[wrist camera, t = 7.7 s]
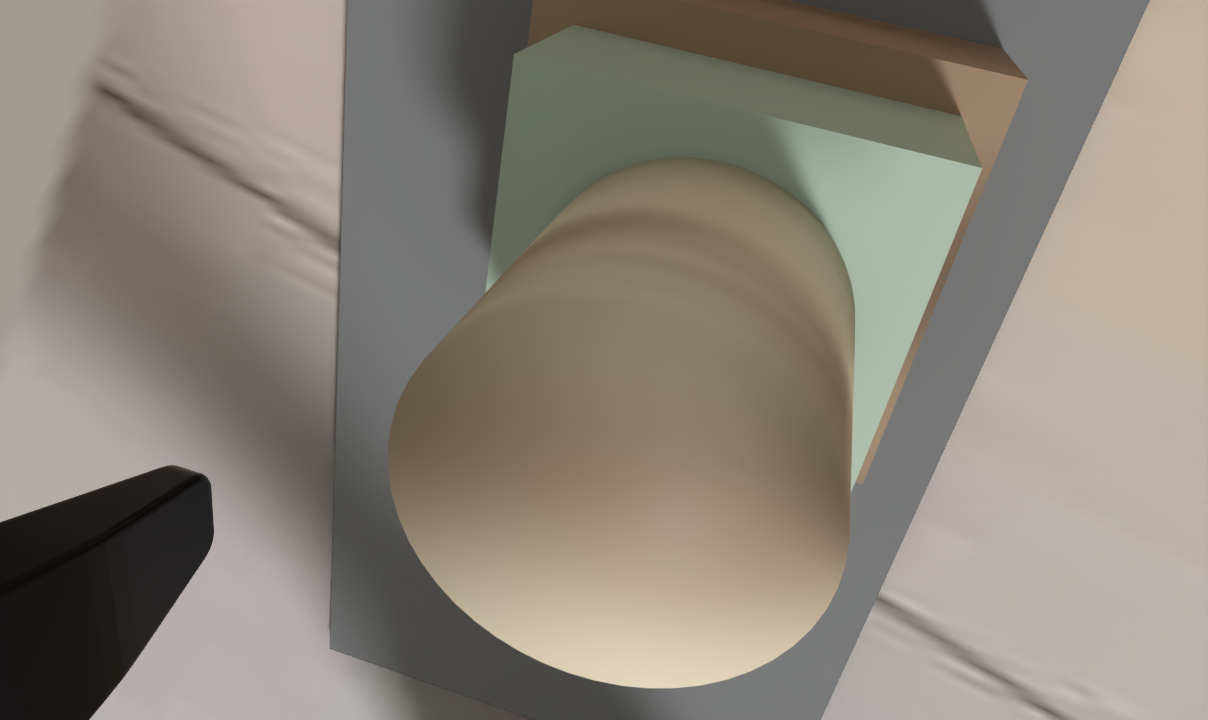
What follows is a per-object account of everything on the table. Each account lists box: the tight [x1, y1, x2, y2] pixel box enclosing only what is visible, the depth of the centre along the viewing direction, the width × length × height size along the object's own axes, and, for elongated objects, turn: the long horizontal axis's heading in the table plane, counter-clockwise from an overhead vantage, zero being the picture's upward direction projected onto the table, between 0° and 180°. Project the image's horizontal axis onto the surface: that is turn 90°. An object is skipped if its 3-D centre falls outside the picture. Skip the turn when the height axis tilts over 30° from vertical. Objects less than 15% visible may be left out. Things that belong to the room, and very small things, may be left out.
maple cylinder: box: [388, 157, 855, 688], centre depth 12 cm, size 5×5×5 cm
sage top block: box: [485, 25, 982, 492], centre depth 15 cm, size 6×6×3 cm
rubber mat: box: [330, 0, 1150, 720], centre depth 22 cm, size 24×15×1 cm, turn 169°
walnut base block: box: [527, 0, 1028, 484], centre depth 18 cm, size 8×8×3 cm
